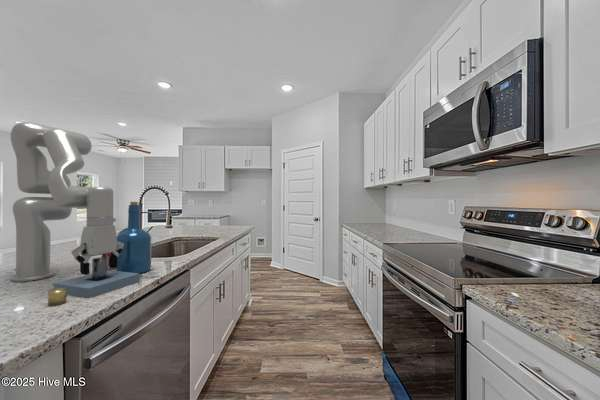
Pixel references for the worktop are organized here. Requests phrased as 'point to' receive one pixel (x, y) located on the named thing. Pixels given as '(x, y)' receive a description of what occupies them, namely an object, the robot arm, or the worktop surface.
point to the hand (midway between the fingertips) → (99, 270)
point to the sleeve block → (98, 283)
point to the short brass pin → (57, 297)
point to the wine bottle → (134, 245)
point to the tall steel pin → (99, 268)
